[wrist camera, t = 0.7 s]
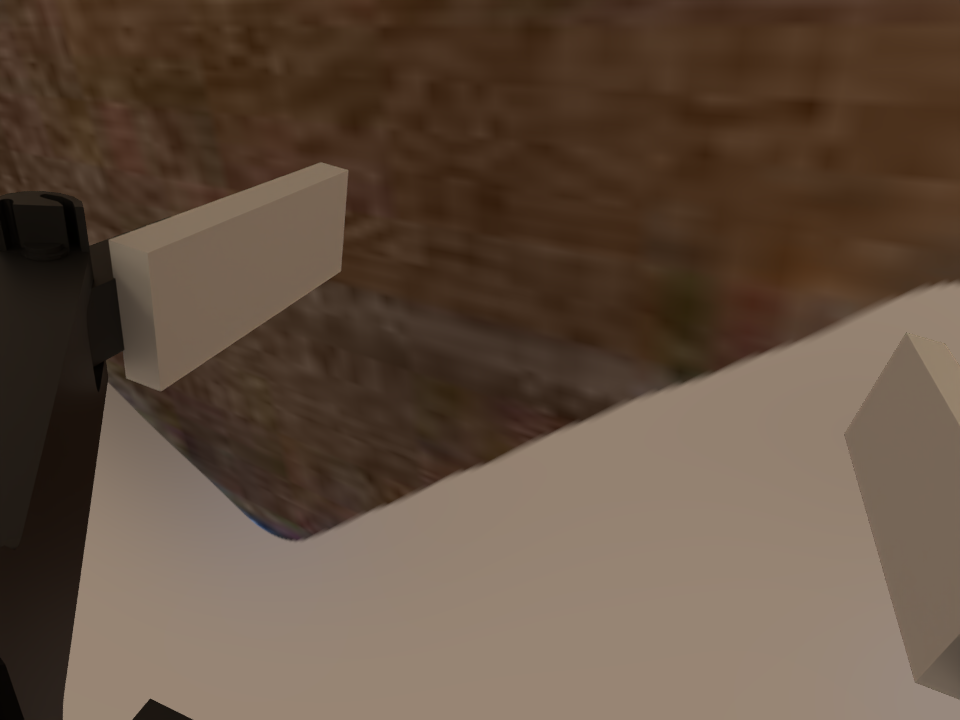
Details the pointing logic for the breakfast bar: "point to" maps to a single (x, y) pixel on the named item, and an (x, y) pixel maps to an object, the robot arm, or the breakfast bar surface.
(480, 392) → the breakfast bar surface
